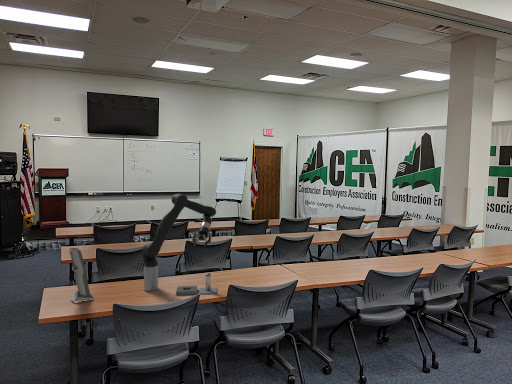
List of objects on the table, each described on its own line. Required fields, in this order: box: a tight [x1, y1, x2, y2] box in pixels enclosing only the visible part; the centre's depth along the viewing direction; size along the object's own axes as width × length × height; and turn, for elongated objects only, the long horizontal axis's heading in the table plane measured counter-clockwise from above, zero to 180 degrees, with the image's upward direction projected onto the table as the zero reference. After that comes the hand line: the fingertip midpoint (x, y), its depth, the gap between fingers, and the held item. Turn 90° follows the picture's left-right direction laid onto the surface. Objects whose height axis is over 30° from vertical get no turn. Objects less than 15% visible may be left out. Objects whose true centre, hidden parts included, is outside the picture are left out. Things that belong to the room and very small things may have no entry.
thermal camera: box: [68, 247, 95, 301], centre depth 251 cm, size 12×13×35 cm
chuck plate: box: [175, 285, 198, 296], centre depth 267 cm, size 14×12×2 cm
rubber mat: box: [199, 286, 218, 295], centre depth 269 cm, size 12×12×1 cm
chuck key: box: [205, 272, 212, 291], centre depth 269 cm, size 4×4×12 cm
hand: (199, 246), depth 285 cm, fingers open, 8 cm apart
